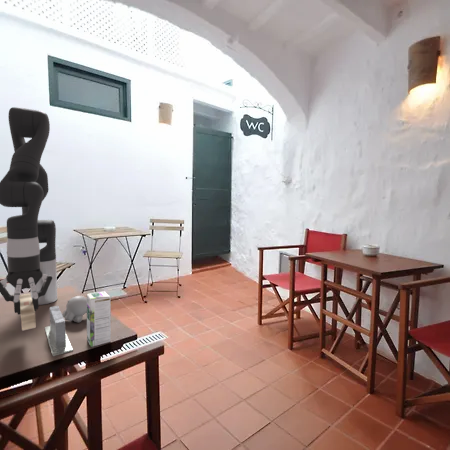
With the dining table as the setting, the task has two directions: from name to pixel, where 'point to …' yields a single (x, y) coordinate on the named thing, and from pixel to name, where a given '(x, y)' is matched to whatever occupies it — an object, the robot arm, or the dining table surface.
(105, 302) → the syrup box
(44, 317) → the dining table surface
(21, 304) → the beam
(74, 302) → the chubby cartoon animal
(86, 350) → the dining table surface
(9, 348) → the dining table surface
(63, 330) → the ridge
